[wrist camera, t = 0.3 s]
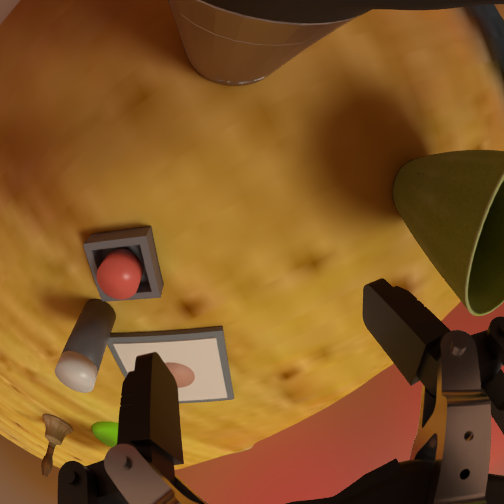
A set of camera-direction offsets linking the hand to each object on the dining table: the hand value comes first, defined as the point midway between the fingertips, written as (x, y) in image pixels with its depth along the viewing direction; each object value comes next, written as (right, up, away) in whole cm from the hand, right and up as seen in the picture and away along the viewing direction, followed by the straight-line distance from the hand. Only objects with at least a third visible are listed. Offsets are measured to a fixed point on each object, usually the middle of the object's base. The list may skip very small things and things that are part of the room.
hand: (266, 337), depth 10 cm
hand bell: (-47, -38, +33) cm, 69 cm away
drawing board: (-12, -14, +27) cm, 32 cm away
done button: (-14, +1, +17) cm, 22 cm away
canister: (-20, -5, +21) cm, 29 cm away
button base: (-14, +2, +18) cm, 23 cm away
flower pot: (+19, +11, +19) cm, 30 cm away
